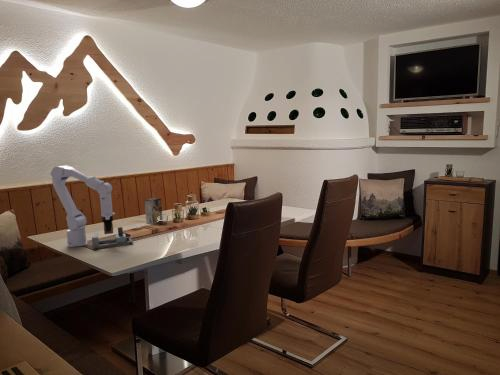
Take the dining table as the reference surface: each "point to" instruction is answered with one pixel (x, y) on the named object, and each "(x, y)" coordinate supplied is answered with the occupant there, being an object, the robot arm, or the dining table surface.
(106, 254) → the dining table surface
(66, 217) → the robot arm
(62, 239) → the dining table surface
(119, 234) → the ram
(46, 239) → the dining table surface
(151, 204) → the coffee box
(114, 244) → the press frame
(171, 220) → the dining table surface
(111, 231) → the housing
